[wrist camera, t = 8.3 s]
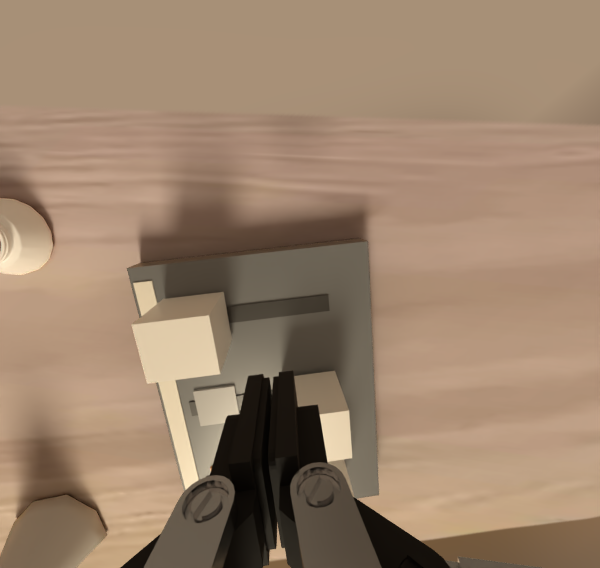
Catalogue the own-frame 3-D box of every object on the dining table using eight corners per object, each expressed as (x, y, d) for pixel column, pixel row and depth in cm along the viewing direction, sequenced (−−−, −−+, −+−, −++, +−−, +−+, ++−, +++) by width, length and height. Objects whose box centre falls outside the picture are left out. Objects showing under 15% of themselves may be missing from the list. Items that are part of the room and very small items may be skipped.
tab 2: (334, 370, 22) (348, 410, 18) (338, 410, 23) (352, 458, 19) (281, 377, 22) (282, 419, 18) (286, 417, 23) (289, 467, 19)
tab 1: (223, 291, 20) (209, 315, 16) (231, 339, 21) (220, 374, 17) (163, 298, 20) (131, 324, 16) (174, 346, 21) (147, 383, 16)
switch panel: (360, 238, 22) (368, 241, 20) (371, 475, 28) (379, 497, 26) (140, 262, 21) (125, 268, 19) (198, 501, 27) (191, 526, 25)
